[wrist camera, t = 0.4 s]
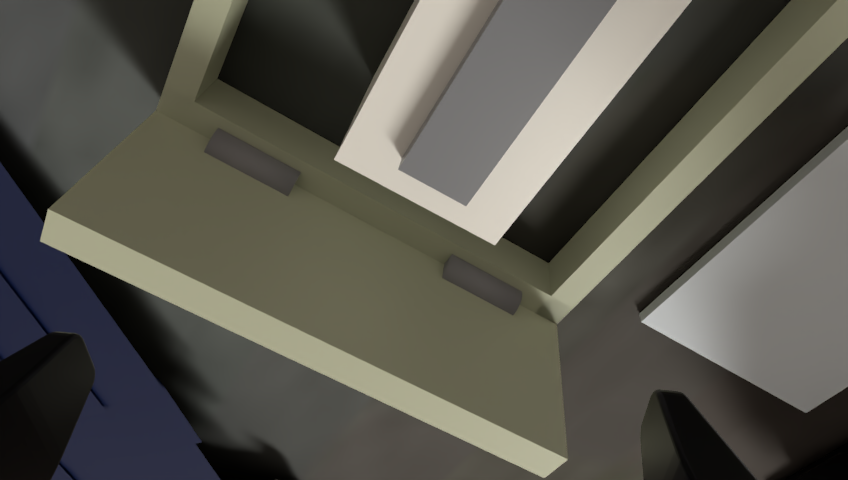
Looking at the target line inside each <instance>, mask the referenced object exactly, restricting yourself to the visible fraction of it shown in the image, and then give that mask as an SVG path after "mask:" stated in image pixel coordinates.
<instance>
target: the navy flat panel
mask: <svg viewBox="0 0 848 480" xmlns="http://www.w3.org/2000/svg"><path fill="white" fill-rule="evenodd" d="M43 227H44V222H43V221H42V220H41V218H40V217H39V215H38V214H37V213H36V211H35V210H34V208H33V207H32V206H31V204H30V203H29V202H28V200H27V199H26V197H25V196H24V195H23V193H22V192H21V190H20V189H19V188H18V186H17V185H16V183H15V182H14V181H13V179H12V178H11V176H10V175H9V174H8V172H7V171H6V170H5V168H4V167H3V165H2V164H1V163H0V361H1V360H3V359H5V358H7V357H8V356H10V355H12V354H14V353H15V352H17V351H19V350H21V349H22V348H24V347H26V346H28V345H29V344H31V343H33V342H35V341H36V340H38V339H40V338H42V337H43V336H45V335H47V334H49V333H51V332H56V331H58V332H69V333H76V334H79V335H80V336H81V337H82V338H83V340H84V342H85V345H86V347H87V350H88V352H89V355H90V357H91V360H92V362H93V365H94V368H95V380H94V383H93V386H92V388H91V391H90V393H89V395H88V398H87V400H86V402H85V405H84V407H83V409H82V412H81V414H80V417H79V419H78V421H77V424H76V426H75V428H74V431H73V433H72V435H71V438H70V440H69V442H68V445H67V447H66V449H65V452H64V454H63V456H62V458H61V461H60V463H59V465H58V467H57V469H56V471H55V473H54V475H53V477H52V479H51V480H220V478H219V477H218V475H217V474H216V473H215V471H214V470H213V468H212V467H211V465H210V464H209V463H208V461H207V460H206V458H205V457H204V455H203V454H202V452H201V451H200V450H199V448H198V447H197V445H196V443H202V441H201V440H200V438H199V437H198V436H197V434H196V433H195V431H194V430H193V428H192V427H191V425H190V424H189V422H188V421H187V419H186V418H185V416H184V415H183V414H182V412H181V411H180V409H179V408H178V406H177V405H176V403H175V402H174V400H173V399H172V397H171V396H170V394H169V393H168V392H167V390H166V389H165V387H164V386H163V384H162V383H161V381H160V380H159V378H155V377H154V376H153V374H152V373H151V371H150V370H149V369H148V367H147V366H146V364H145V363H144V362H143V360H142V359H141V357H140V356H139V355H138V353H137V352H136V350H135V349H134V348H133V346H132V345H131V343H130V342H129V341H128V339H127V338H126V337H125V335H124V334H123V332H122V331H121V330H120V328H119V327H118V325H117V324H116V323H115V321H114V320H113V318H112V317H111V316H110V314H109V313H108V311H107V310H106V309H105V307H104V306H103V305H102V303H101V302H100V300H99V299H98V298H97V296H96V295H95V293H94V292H93V291H92V289H91V288H90V286H89V285H88V284H87V282H86V281H85V279H84V278H83V277H82V275H81V274H80V273H79V271H78V270H77V268H76V267H75V266H74V264H73V263H72V261H71V260H70V259H69V257H68V256H67V254H66V253H64V252H62V251H60V250H58V249H55V248H53V247H51V246H49V245H47V244H45V243H43V242H40V239H41V235H42V231H43Z"/></svg>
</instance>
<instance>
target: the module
mask: <svg viewBox="0 0 848 480" xmlns="http://www.w3.org/2000/svg"><path fill="white" fill-rule="evenodd" d="M691 1H692V0H414V2H413V4H412V5H411V7H410V9H409V11H408V13H407V15H406V17H405V19H404V20H403V22H402V24H401V26H400V28H399V30H398V32H397V33H396V35H395V37H394V39H393V41H392V43H391V45H390V47H389V48H388V50H387V52H386V54H385V56H384V58H383V60H382V62H381V63H380V65H379V67H378V69H377V71H376V73H375V75H374V76H373V78H372V81H371V83H370V85H369V87H368V89H367V91H366V93H365V95H364V97H363V99H362V102H361V104H360V106H359V108H358V110H357V112H356V114H355V116H354V118H353V120H352V123H351V125H350V127H349V129H348V131H347V133H346V135H345V137H344V139H343V141H342V144H341V146H340V148H339V150H338V152H337V154H336V156H335V158H334V160H335V161H337V162H339V163H341V164H343V165H345V166H347V167H349V168H350V169H352V170H354V171H356V172H358V173H360V174H362V175H364V176H365V177H367V178H369V179H371V180H373V181H375V182H377V183H379V184H381V185H382V186H384V187H386V188H388V189H390V190H392V191H394V192H396V193H397V194H399V195H401V196H403V197H405V198H407V199H409V200H411V201H412V202H414V203H416V204H418V205H420V206H422V207H424V208H426V209H427V210H429V211H431V212H433V213H435V214H437V215H439V216H441V217H442V218H444V219H446V220H448V221H450V222H452V223H454V224H456V225H457V226H459V227H461V228H463V229H465V230H467V231H469V232H471V233H472V234H474V235H476V236H478V237H480V238H482V239H484V240H486V241H487V242H489V243H491V244H493V245H496V243H497V242H498V241H499V240H500V238H501V237H502V236H503V235H504V233H505V232H506V231H507V230H508V228H509V227H510V226H511V225H512V223H513V222H514V221H515V220H516V219H517V217H518V216H519V215H520V214H521V212H522V211H523V210H524V209H525V207H526V206H527V205H528V204H529V202H530V201H531V200H532V199H533V197H534V196H535V195H536V194H537V192H538V191H539V190H540V189H541V187H542V186H543V185H544V184H545V182H546V181H547V180H548V179H549V177H550V176H551V175H552V174H553V172H554V171H555V170H556V169H557V168H558V166H559V165H560V164H561V163H562V161H563V160H564V159H565V158H566V156H567V155H568V154H569V153H570V151H571V150H572V149H573V148H574V146H575V145H576V144H577V143H578V141H579V140H580V139H581V138H582V136H583V135H584V134H585V133H586V131H587V130H588V129H589V128H590V126H591V125H592V124H593V123H594V122H595V120H596V119H597V118H598V117H599V115H600V114H601V113H602V112H603V110H604V109H605V108H606V107H607V105H608V104H609V103H610V102H611V100H612V99H613V98H614V97H615V95H616V94H617V93H618V92H619V90H620V89H621V88H622V87H623V85H624V84H625V83H626V82H627V80H628V79H629V78H630V77H631V75H632V74H633V73H634V72H635V71H636V69H637V68H638V67H639V66H640V64H641V63H642V62H643V61H644V59H645V58H646V57H647V56H648V54H649V53H650V52H651V51H652V49H653V48H654V47H655V46H656V44H657V43H658V42H659V41H660V39H661V38H662V37H663V36H664V34H665V33H666V32H667V31H668V29H669V28H670V27H671V26H672V24H673V23H674V22H675V21H676V20H677V18H678V17H679V16H680V15H681V13H682V12H683V11H684V10H685V8H686V7H687V6H688V5H689V3H690V2H691Z"/></svg>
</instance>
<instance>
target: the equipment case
mask: <svg viewBox="0 0 848 480" xmlns="http://www.w3.org/2000/svg"><path fill="white" fill-rule="evenodd" d="M247 2H248V0H194V1H193V4H192V7H191V10H190V13H189V16H188V19H187V22H186V25H185V28H184V30H183V33H182V36H181V39H180V42H179V45H178V48H177V51H176V54H175V57H174V60H173V63H172V66H171V68H170V71H169V74H168V77H167V80H166V83H165V86H164V89H163V92H162V95H161V98H160V101H159V104H158V106H157V109H156V111H155V112H154V113H153V114H152V115H151V116H149V117H148V118H147V119H146V120H145V121H144V122H143V123H142V124H141V125H140V126H138V127H137V128H136V129H135V130H134V131H133V132H132V133H131V134H130V135H129V136H128V137H126V138H125V139H124V140H123V141H122V142H121V143H120V144H119V145H118V146H117V147H115V148H114V149H113V150H112V151H111V152H110V153H109V154H108V155H107V156H106V157H104V158H103V159H102V160H101V161H100V162H99V163H98V164H97V165H96V166H95V167H93V168H92V169H91V170H90V171H89V172H88V173H87V174H86V175H85V176H84V177H83V178H81V179H80V180H79V181H78V182H77V183H76V184H75V185H74V186H73V187H72V188H70V189H69V190H68V191H67V192H66V193H65V194H64V195H63V196H62V197H61V198H59V199H58V200H57V201H56V202H55V203H54V204H53V205H52V206H51V207H50V208H48V211H47V215H46V219H45V223H44V227H43V231H42V235H41V239H40V242H43V243H45V244H47V245H49V246H51V247H53V248H55V249H58V250H60V251H62V252H64V253H66V254H68V255H70V256H72V257H75V258H77V259H79V260H81V261H83V262H85V263H87V264H89V265H92V266H94V267H96V268H98V269H100V270H102V271H104V272H106V273H109V274H111V275H113V276H115V277H117V278H119V279H121V280H124V281H126V282H128V283H130V284H132V285H134V286H136V287H138V288H141V289H143V290H145V291H147V292H149V293H151V294H153V295H155V296H158V297H160V298H162V299H164V300H166V301H168V302H170V303H172V304H175V305H177V306H179V307H181V308H183V309H185V310H187V311H190V312H192V313H194V314H196V315H198V316H200V317H202V318H204V319H207V320H209V321H211V322H213V323H215V324H217V325H219V326H221V327H224V328H226V329H228V330H230V331H232V332H234V333H236V334H238V335H241V336H243V337H245V338H247V339H249V340H251V341H253V342H256V343H258V344H260V345H262V346H264V347H266V348H268V349H270V350H273V351H275V352H277V353H279V354H281V355H283V356H285V357H287V358H290V359H292V360H294V361H296V362H298V363H300V364H302V365H304V366H307V367H309V368H311V369H313V370H315V371H317V372H319V373H322V374H324V375H326V376H328V377H330V378H332V379H334V380H336V381H339V382H341V383H343V384H345V385H347V386H349V387H351V388H353V389H356V390H358V391H360V392H362V393H364V394H366V395H368V396H371V397H373V398H375V399H377V400H379V401H381V402H383V403H385V404H388V405H390V406H392V407H394V408H396V409H398V410H400V411H402V412H405V413H407V414H409V415H411V416H413V417H415V418H417V419H419V420H422V421H424V422H426V423H428V424H430V425H432V426H434V427H437V428H439V429H441V430H443V431H445V432H447V433H449V434H451V435H454V436H456V437H458V438H460V439H462V440H464V441H466V442H468V443H471V444H473V445H475V446H477V447H479V448H481V449H483V450H485V451H488V452H490V453H492V454H494V455H496V456H498V457H500V458H503V459H505V460H507V461H509V462H511V463H513V464H515V465H517V466H520V467H522V468H524V469H526V470H528V471H530V472H532V473H534V474H537V475H539V476H541V477H543V478H545V477H546V476H548V475H549V474H550V473H551V472H553V471H554V470H555V469H557V468H558V467H559V466H560V465H562V464H563V463H564V462H565V461H567V460H568V453H567V441H566V429H565V417H564V405H563V393H562V381H561V369H560V357H559V345H558V333H557V324H558V323H559V322H560V321H561V320H562V319H563V318H564V317H565V316H566V315H567V314H568V313H569V312H570V311H571V310H572V309H573V308H574V307H575V306H576V305H577V304H578V303H579V302H580V301H581V300H582V299H583V298H584V297H585V296H586V295H587V294H588V293H589V292H590V291H591V290H592V289H593V288H594V287H595V286H596V285H597V284H598V283H599V282H600V281H601V280H602V279H603V278H604V277H605V276H606V275H607V274H608V273H609V272H610V271H611V270H612V269H613V268H614V267H615V266H616V265H618V264H619V263H620V262H621V261H622V260H623V259H624V258H625V257H626V256H627V255H628V254H629V253H630V252H631V251H632V250H633V249H634V248H635V247H636V246H637V245H638V244H639V243H640V242H641V241H642V240H643V239H644V238H645V237H646V236H647V235H648V234H649V233H650V232H651V231H652V230H653V229H654V228H655V227H656V226H657V225H658V224H659V223H660V222H661V221H662V220H663V219H664V218H665V217H666V216H667V215H668V214H669V213H670V212H671V211H672V210H673V209H674V208H675V207H676V206H677V205H678V204H679V203H680V202H681V201H682V200H683V199H684V198H685V197H686V196H688V195H689V194H690V193H691V192H692V191H693V190H694V189H695V188H696V187H697V186H698V185H699V184H700V183H701V182H702V181H703V180H704V179H705V178H706V177H707V176H708V175H709V174H710V173H711V172H712V171H713V170H714V169H715V168H716V167H717V166H718V165H719V164H720V163H721V162H722V161H723V160H724V159H725V158H726V157H727V156H728V155H729V154H730V153H731V152H732V151H733V150H734V149H735V148H736V147H737V146H738V145H739V144H740V143H741V142H742V141H743V140H744V139H745V138H746V137H747V136H748V135H749V134H750V133H751V132H752V131H753V130H754V129H755V128H756V127H757V126H759V125H760V124H761V123H762V122H763V121H764V120H765V119H766V118H767V117H768V116H769V115H770V114H771V113H772V112H773V111H774V110H775V109H776V108H777V107H778V106H779V105H780V104H781V103H782V102H783V101H784V100H785V99H786V98H787V97H788V96H789V95H790V94H791V93H792V92H793V91H794V90H795V89H796V88H797V87H798V86H799V85H800V84H801V83H802V82H803V81H804V80H805V79H806V78H807V77H808V76H809V75H810V74H811V73H812V72H813V71H814V70H815V69H816V68H817V67H818V66H819V65H820V64H821V63H822V62H823V61H824V60H825V59H826V58H827V57H828V56H830V55H831V54H832V53H833V52H834V51H835V50H836V49H837V48H838V47H839V46H840V45H841V44H842V43H843V42H844V41H845V40H846V39H847V38H848V0H791V1H790V2H789V3H788V4H787V5H786V6H785V8H784V9H783V10H782V11H781V12H780V13H779V14H778V15H777V16H776V17H775V18H774V19H773V21H772V22H771V23H770V24H769V25H768V26H767V27H766V28H765V29H764V30H763V31H762V32H761V34H760V35H759V36H758V37H757V38H756V39H755V40H754V41H753V42H752V43H751V44H750V45H749V47H748V48H747V49H746V50H745V51H744V52H743V53H742V54H741V55H740V56H739V57H738V58H737V60H736V61H735V62H734V63H733V64H732V65H731V66H730V67H729V68H728V69H727V70H726V71H725V73H724V74H723V75H722V76H721V77H720V78H719V79H718V80H717V81H716V82H715V83H714V84H713V86H712V87H711V88H710V89H709V90H708V91H707V92H706V93H705V94H704V95H703V96H702V97H701V99H700V100H699V101H698V102H697V103H696V104H695V105H694V106H693V107H692V108H691V109H690V110H689V112H688V113H687V114H686V115H685V116H684V117H683V118H682V119H681V120H680V121H679V122H678V123H677V125H676V126H675V127H674V128H673V129H672V130H671V131H670V132H669V133H668V134H667V135H666V137H665V138H664V139H663V140H662V141H661V142H660V143H659V144H658V145H657V146H656V147H655V148H654V150H653V151H652V152H651V153H650V154H649V155H648V156H647V157H646V158H645V159H644V160H643V161H642V163H641V164H640V165H639V166H638V167H637V168H636V169H635V170H634V171H633V172H632V173H631V174H630V176H629V177H628V178H627V179H626V180H625V181H624V182H623V183H622V184H621V185H620V186H619V187H618V189H617V190H616V191H615V192H614V193H613V194H612V195H611V196H610V197H609V198H608V199H607V200H606V202H605V203H604V204H603V205H602V206H601V207H600V208H599V209H598V210H597V211H596V212H595V213H594V215H593V216H592V217H591V218H590V219H589V220H588V221H587V222H586V223H585V224H584V225H583V226H582V228H581V229H580V230H579V231H578V232H577V233H576V234H575V235H574V236H573V237H572V238H571V239H570V241H569V242H568V243H567V244H566V245H565V246H564V247H563V248H562V249H561V250H560V251H559V252H558V254H557V255H556V256H555V257H554V258H553V259H552V260H551V261H550V262H549V263H547V262H546V261H544V260H542V259H540V258H538V257H537V256H535V255H533V254H531V253H529V252H528V251H526V250H524V249H522V248H520V247H519V246H517V245H515V244H513V243H511V242H510V241H508V240H506V239H504V238H502V237H501V238H500V240H499V241H498V242H497V243H496V245H493V244H491V243H489V242H487V241H486V240H484V239H482V238H480V237H478V236H476V235H474V234H472V233H471V232H469V231H467V230H465V229H463V228H461V227H459V226H457V225H456V224H454V223H452V222H450V221H448V220H446V219H444V218H442V217H441V216H439V215H437V214H435V213H433V212H431V211H429V210H427V209H426V208H424V207H422V206H420V205H418V204H416V203H414V202H412V201H411V200H409V199H407V198H405V197H403V196H401V195H399V194H397V193H396V192H394V191H392V190H390V189H388V188H386V187H384V186H382V185H381V184H379V183H377V182H375V181H373V180H371V179H369V178H367V177H365V176H364V175H362V174H360V173H358V172H356V171H354V170H352V169H350V168H349V167H347V166H345V165H343V164H341V163H339V162H337V161H335V160H334V158H335V156H336V154H337V152H338V150H339V148H340V147H339V146H337V145H336V144H334V143H332V142H330V141H328V140H327V139H325V138H323V137H321V136H319V135H318V134H316V133H314V132H312V131H310V130H309V129H307V128H305V127H303V126H301V125H300V124H298V123H296V122H294V121H292V120H291V119H289V118H287V117H285V116H283V115H282V114H280V113H278V112H276V111H274V110H273V109H271V108H269V107H267V106H265V105H264V104H262V103H260V102H258V101H257V100H255V99H253V98H251V97H249V96H248V95H246V94H244V93H242V92H240V91H239V90H237V89H235V88H233V87H231V86H230V85H228V84H226V83H224V82H222V81H221V80H219V79H217V78H218V76H219V73H220V71H221V68H222V66H223V63H224V61H225V58H226V55H227V53H228V50H229V48H230V45H231V43H232V40H233V38H234V35H235V33H236V30H237V28H238V25H239V23H240V20H241V18H242V15H243V12H244V10H245V7H246V5H247Z"/></svg>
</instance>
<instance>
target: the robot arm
mask: <svg viewBox="0 0 848 480" xmlns="http://www.w3.org/2000/svg"><path fill="white" fill-rule="evenodd" d="M94 380H95V368H94V365H93V362H92V360H91V357H90V355H89V352H88V350H87V347H86V345H85V342H84V340H83V338H82V337H81V336H80V335H79V334H76V333H69V332H58V331H56V332H51V333H49V334H47V335H45V336H43V337H42V338H40V339H38V340H36V341H35V342H33V343H31V344H29V345H28V346H26V347H24V348H22V349H21V350H19V351H17V352H15V353H14V354H12V355H10V356H8V357H7V358H5V359H3V360H1V361H0V480H51V479H52V477H53V475H54V473H55V471H56V469H57V467H58V465H59V463H60V461H61V458H62V456H63V454H64V452H65V449H66V447H67V445H68V442H69V440H70V438H71V435H72V433H73V431H74V428H75V426H76V424H77V421H78V419H79V417H80V414H81V412H82V409H83V407H84V405H85V402H86V400H87V398H88V395H89V393H90V391H91V388H92V386H93V383H94ZM640 439H641V452H642V464H643V476H644V480H757V479H756V478H755V476H754V475H753V474H752V473H751V472H750V470H749V469H748V468H747V467H746V466H745V465H744V463H743V462H742V461H741V460H740V459H739V457H738V456H737V455H736V454H735V453H734V452H733V450H732V449H731V448H730V447H729V446H728V444H727V443H726V442H725V441H724V440H723V439H722V437H721V436H720V435H719V434H718V433H717V431H716V430H715V429H714V428H713V427H712V426H711V424H710V423H709V422H708V421H707V420H706V418H705V417H704V416H703V415H702V414H701V413H700V411H699V410H698V409H697V408H696V407H695V405H694V404H693V403H692V402H691V401H690V400H689V398H688V397H687V396H686V395H685V394H683V393H681V392H678V391H668V390H656V391H654V392H653V394H652V395H651V398H650V401H649V404H648V407H647V410H646V413H645V416H644V419H643V422H642V425H641V433H640ZM785 480H848V443H847V444H845V445H844V446H842V447H840V448H839V449H837V450H835V451H833V452H832V453H830V454H828V455H827V456H825V457H823V458H821V459H820V460H818V461H816V462H815V463H813V464H811V465H809V466H808V467H806V468H804V469H803V470H801V471H799V472H797V473H796V474H794V475H792V476H791V477H789V478H787V479H785Z"/></svg>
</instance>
